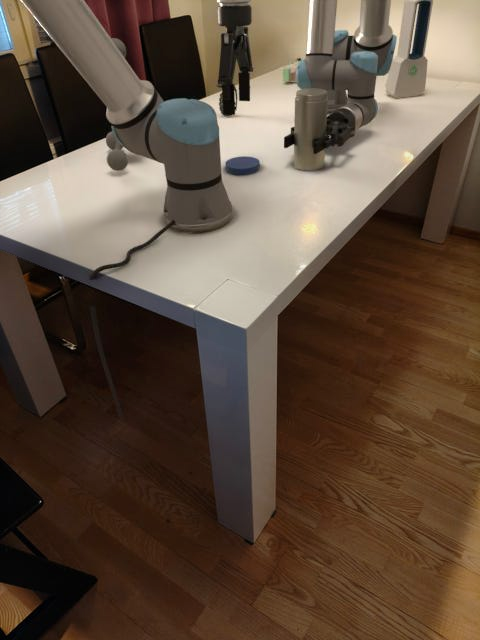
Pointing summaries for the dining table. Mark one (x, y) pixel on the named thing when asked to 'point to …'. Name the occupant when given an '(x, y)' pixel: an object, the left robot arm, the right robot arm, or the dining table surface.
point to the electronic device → (407, 67)
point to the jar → (309, 127)
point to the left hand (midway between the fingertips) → (237, 107)
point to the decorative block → (290, 72)
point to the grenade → (222, 99)
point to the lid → (242, 165)
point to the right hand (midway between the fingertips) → (299, 145)
